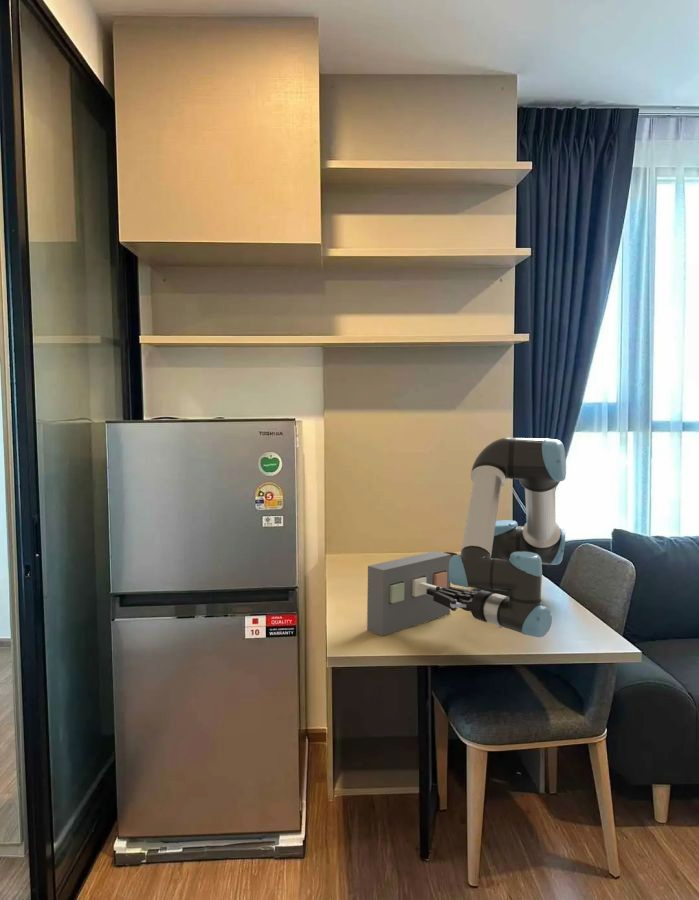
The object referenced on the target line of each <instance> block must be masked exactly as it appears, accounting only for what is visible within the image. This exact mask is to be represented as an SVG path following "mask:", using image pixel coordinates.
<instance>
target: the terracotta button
mask: <svg viewBox="0 0 699 900" xmlns="http://www.w3.org/2000/svg"><path fill="white" fill-rule="evenodd" d="M433 585H434V586H438V587H441V588H444V587H445V588H447V572H444V571H441V572H437V573H434V574H433Z"/></svg>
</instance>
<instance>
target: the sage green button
mask: <svg viewBox="0 0 699 900" xmlns="http://www.w3.org/2000/svg"><path fill="white" fill-rule="evenodd" d="M402 600H404V583H401V582H397V583H394V584H390V585H389V602H390V603H395V602H399V601H402Z"/></svg>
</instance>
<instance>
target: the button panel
mask: <svg viewBox="0 0 699 900" xmlns="http://www.w3.org/2000/svg"><path fill="white" fill-rule="evenodd" d="M442 552H443V551H437V550H434V551H428V552H424V553H421V554H415V555H412V556H406V557H403V558H398V559H393V560H389V561H384V562H380V563H379V562H378V563H374V564H370V565H368V566H367V600H366V601H367V602H366V603H367V605H366V607H367V611H366V615H367V617H366V630H367V631H368V632H370V633H373V634H376V635H379V636H381V637H384V636H387V635H390V634H394V633H397V632H400V631H403V630H406V629H409V628H412V627H415V626H419V625H421V623H422V624H424V622H425V623H427V621H428V622H431V621H433V619H434V620H436V618H437V619H439V617H440V618H443V617H445V615H446V616H448V614H449V615H450V613H451V609H450V608H448V607H446V606H444V605H442V604H440V603H437V602H435V601H433V597H432V596H429V595H425V594H424V595H420V596H416V597H414V596H412V579H413V578H417V577H421V576H422V577H426V578H427V580H426V583H427V584H431V585H433V574H434V573H437V572H441V571H444V572H447V588H448V587H451V582H450V580H449V562H450V559H451V554H447V553H442ZM397 582H401V583H404V600H402V601H399V602H395V603H390V602H389V585H390V584H394V583H397ZM442 616H443V617H442ZM430 620H431V621H430ZM418 624H419V625H418Z"/></svg>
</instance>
